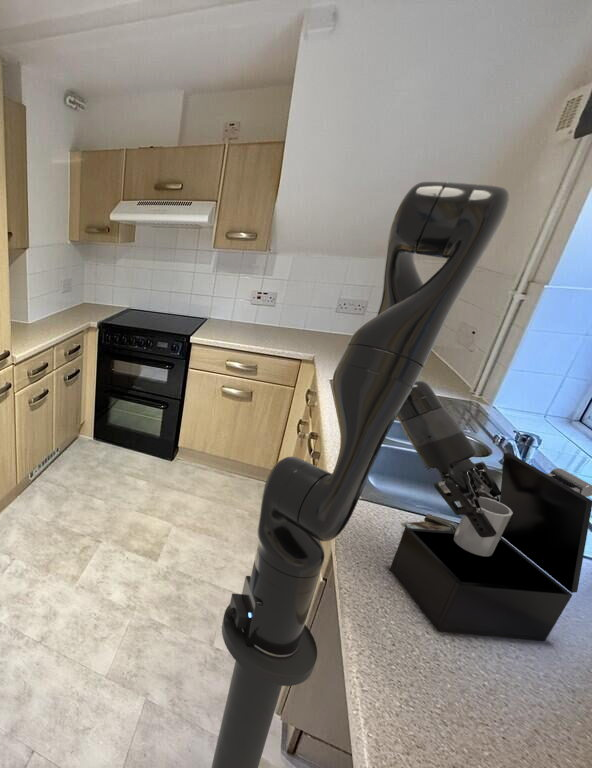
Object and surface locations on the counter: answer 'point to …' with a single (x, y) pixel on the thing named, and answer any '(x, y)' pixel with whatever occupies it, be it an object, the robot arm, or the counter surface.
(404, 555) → the black hollow box
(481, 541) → the cup
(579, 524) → the black box lid
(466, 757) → the counter surface
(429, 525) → the checkered cake slice
